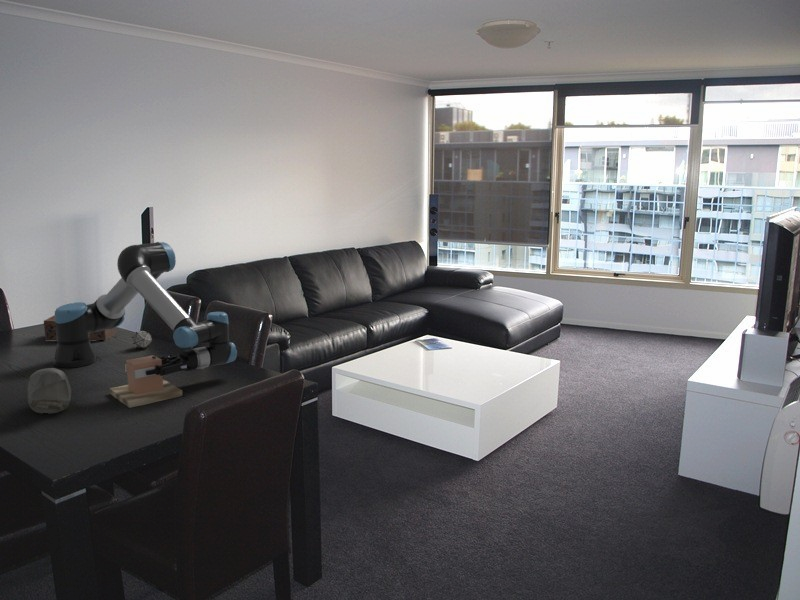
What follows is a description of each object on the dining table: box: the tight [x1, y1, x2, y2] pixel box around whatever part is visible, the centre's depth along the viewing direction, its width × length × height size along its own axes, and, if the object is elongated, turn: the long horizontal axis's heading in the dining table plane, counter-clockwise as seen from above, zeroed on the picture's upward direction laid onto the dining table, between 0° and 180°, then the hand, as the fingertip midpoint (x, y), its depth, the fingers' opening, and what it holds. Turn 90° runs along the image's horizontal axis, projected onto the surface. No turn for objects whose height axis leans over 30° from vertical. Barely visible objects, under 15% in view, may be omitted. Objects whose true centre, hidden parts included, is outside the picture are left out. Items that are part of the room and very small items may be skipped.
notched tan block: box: [126, 354, 164, 395], centre depth 224 cm, size 7×9×11 cm
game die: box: [131, 328, 155, 350], centre depth 283 cm, size 9×8×10 cm
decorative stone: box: [27, 367, 72, 414], centre depth 210 cm, size 12×17×15 cm
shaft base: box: [109, 378, 183, 409], centre depth 224 cm, size 18×18×10 cm
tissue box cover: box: [43, 314, 117, 341], centre depth 300 cm, size 26×14×10 cm, turn 96°
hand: (130, 371), depth 220 cm, fingers open, 8 cm apart
